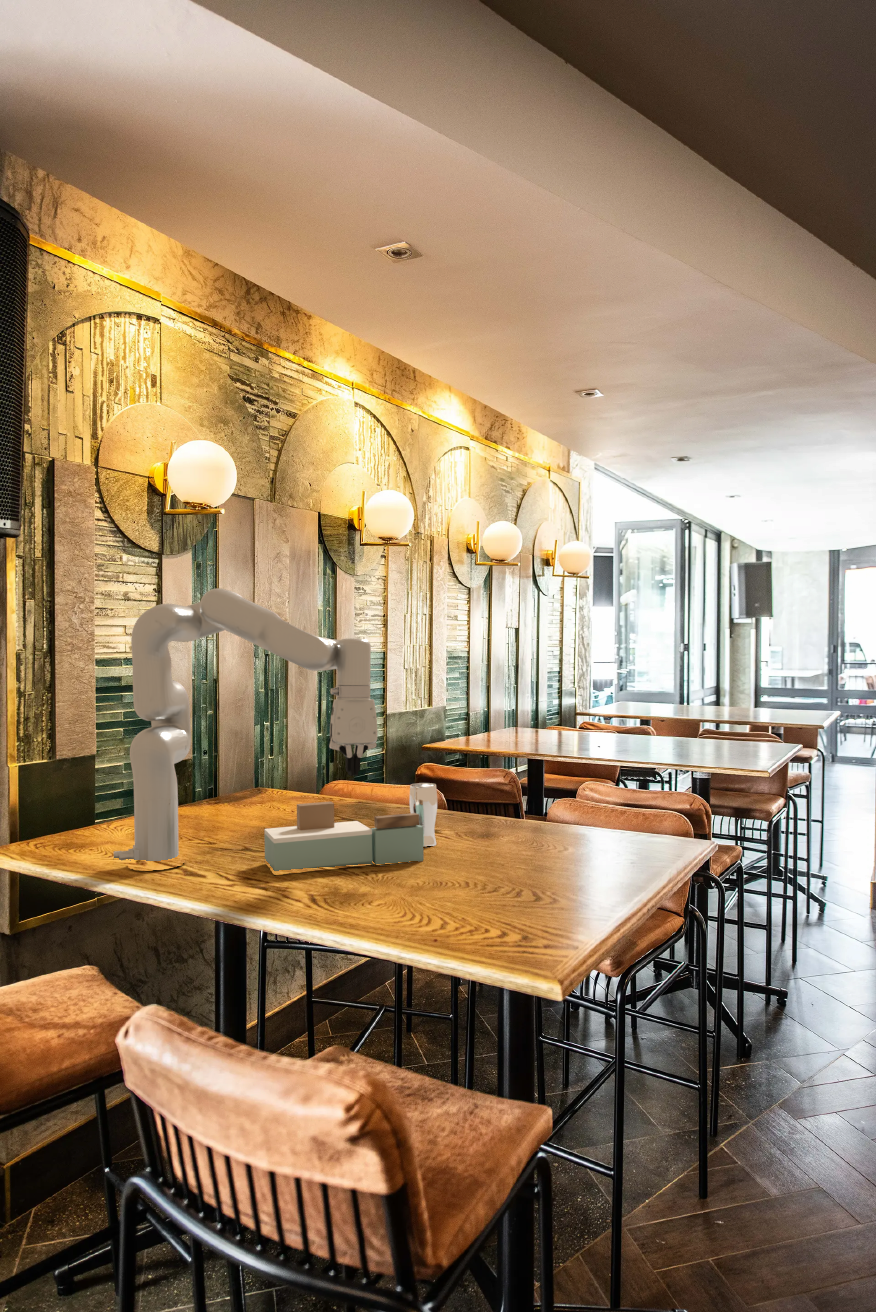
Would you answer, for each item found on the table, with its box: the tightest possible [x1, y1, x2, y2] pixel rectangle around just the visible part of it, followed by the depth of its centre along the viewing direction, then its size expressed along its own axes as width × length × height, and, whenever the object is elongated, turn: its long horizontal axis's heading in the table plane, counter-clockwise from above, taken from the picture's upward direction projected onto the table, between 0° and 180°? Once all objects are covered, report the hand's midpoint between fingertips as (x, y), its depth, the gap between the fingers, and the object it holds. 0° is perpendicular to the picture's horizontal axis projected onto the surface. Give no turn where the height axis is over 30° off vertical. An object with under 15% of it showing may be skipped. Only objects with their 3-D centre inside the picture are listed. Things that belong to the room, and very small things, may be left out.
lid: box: [263, 801, 372, 843], centre depth 191 cm, size 22×12×8 cm, turn 111°
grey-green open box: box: [264, 825, 425, 871], centre depth 193 cm, size 34×13×8 cm, turn 111°
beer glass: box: [409, 782, 438, 848], centre depth 210 cm, size 7×7×15 cm
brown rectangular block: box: [374, 813, 419, 829], centre depth 193 cm, size 10×2×2 cm, turn 111°
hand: (352, 774), depth 190 cm, fingers closed
